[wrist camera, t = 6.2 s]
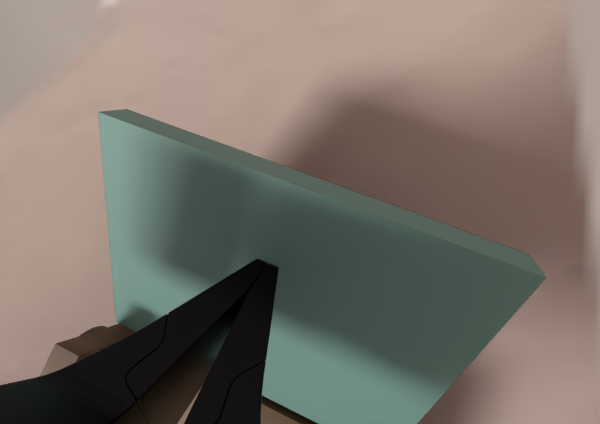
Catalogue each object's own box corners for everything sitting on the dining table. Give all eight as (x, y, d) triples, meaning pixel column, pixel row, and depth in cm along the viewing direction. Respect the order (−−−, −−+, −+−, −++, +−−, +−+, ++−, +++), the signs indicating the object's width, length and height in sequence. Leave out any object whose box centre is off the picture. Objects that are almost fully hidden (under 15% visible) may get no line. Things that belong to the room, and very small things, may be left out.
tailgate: (386, 458, 13) (546, 277, 8) (116, 321, 15) (98, 111, 10) (388, 409, 15) (516, 238, 10) (147, 294, 17) (146, 107, 12)
